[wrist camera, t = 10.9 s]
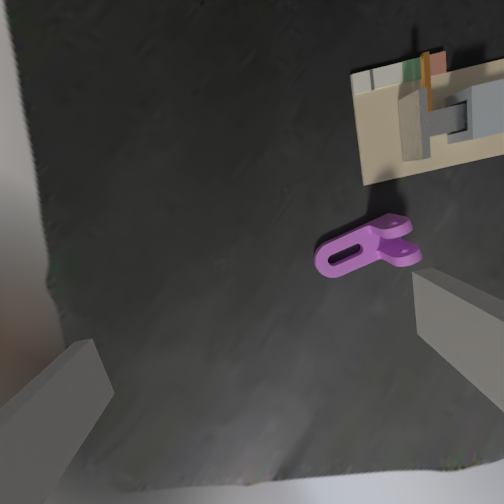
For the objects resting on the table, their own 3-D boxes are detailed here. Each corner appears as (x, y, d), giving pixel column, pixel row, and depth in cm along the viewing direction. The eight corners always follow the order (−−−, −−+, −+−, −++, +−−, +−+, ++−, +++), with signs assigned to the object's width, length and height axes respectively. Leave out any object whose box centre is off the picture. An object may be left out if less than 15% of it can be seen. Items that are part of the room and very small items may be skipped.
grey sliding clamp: (394, 67, 36) (415, 51, 31) (500, 41, 35) (537, 21, 30) (402, 162, 38) (422, 159, 34) (500, 139, 38) (534, 134, 33)
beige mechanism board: (350, 75, 36) (364, 60, 31) (504, 37, 35) (543, 15, 30) (363, 185, 40) (378, 185, 35) (504, 153, 39) (539, 149, 34)
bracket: (388, 212, 41) (415, 218, 34) (399, 245, 42) (428, 257, 35) (307, 249, 42) (318, 262, 35) (321, 280, 43) (334, 298, 37)
